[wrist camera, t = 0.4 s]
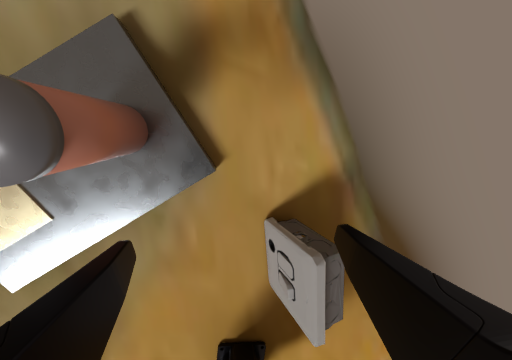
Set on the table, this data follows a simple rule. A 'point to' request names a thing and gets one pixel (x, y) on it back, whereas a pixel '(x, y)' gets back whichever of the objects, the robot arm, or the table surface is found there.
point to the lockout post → (60, 130)
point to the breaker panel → (101, 173)
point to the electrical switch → (305, 276)
